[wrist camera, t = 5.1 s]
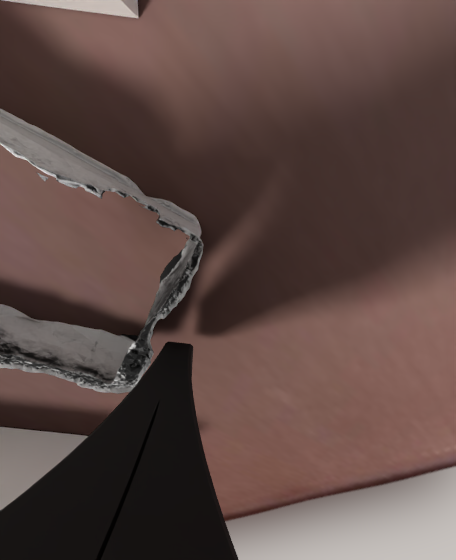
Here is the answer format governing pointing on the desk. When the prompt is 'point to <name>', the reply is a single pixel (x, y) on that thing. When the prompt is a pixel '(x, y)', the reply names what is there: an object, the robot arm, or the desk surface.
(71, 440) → the box
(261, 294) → the desk surface
